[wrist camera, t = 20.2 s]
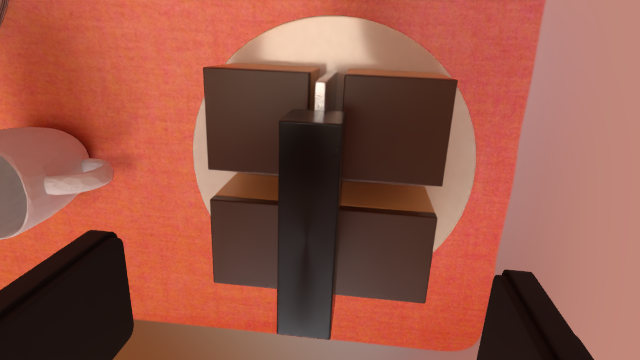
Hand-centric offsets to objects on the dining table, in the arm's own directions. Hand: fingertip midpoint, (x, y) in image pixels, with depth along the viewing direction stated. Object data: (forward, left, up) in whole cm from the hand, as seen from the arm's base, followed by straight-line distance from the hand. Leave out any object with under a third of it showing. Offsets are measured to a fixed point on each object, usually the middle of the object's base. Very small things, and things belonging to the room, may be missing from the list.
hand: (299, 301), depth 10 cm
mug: (+23, -17, -30) cm, 42 cm away
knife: (0, 0, -12) cm, 12 cm away
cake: (0, 0, -12) cm, 12 cm away
